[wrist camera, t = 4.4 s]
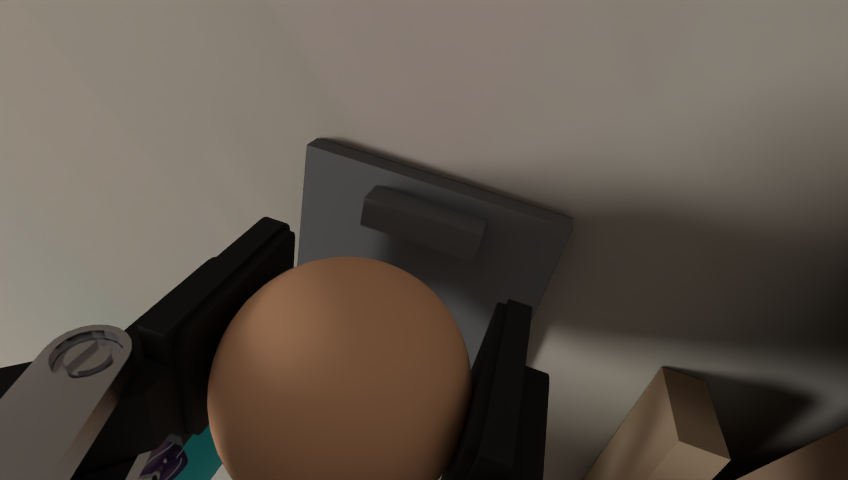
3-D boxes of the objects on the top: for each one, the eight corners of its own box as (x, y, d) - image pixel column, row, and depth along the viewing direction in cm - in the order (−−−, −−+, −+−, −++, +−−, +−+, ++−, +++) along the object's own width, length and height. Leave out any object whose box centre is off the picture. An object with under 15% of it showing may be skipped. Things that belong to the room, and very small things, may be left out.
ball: (297, 183, 10) (111, 342, 6) (519, 255, 10) (476, 482, 6) (290, 339, 13) (159, 518, 9) (461, 402, 12) (403, 624, 8)
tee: (317, 138, 13) (291, 154, 11) (572, 218, 12) (572, 244, 11) (300, 326, 16) (279, 353, 15) (493, 397, 15) (486, 432, 14)
